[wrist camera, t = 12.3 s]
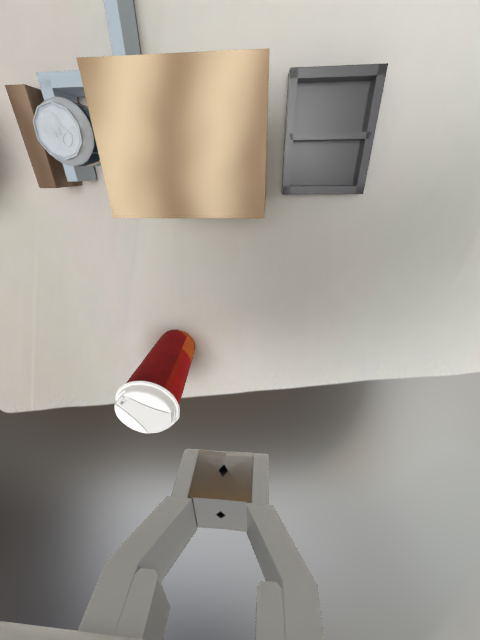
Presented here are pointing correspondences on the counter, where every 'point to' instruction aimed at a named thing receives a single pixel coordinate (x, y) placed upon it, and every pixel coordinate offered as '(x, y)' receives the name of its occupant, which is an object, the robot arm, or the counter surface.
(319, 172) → the tray
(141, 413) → the coffee cup
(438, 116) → the counter surface
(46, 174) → the end stop
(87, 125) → the beer can
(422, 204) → the counter surface
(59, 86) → the blue grey drawer
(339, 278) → the counter surface
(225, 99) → the tunnel
